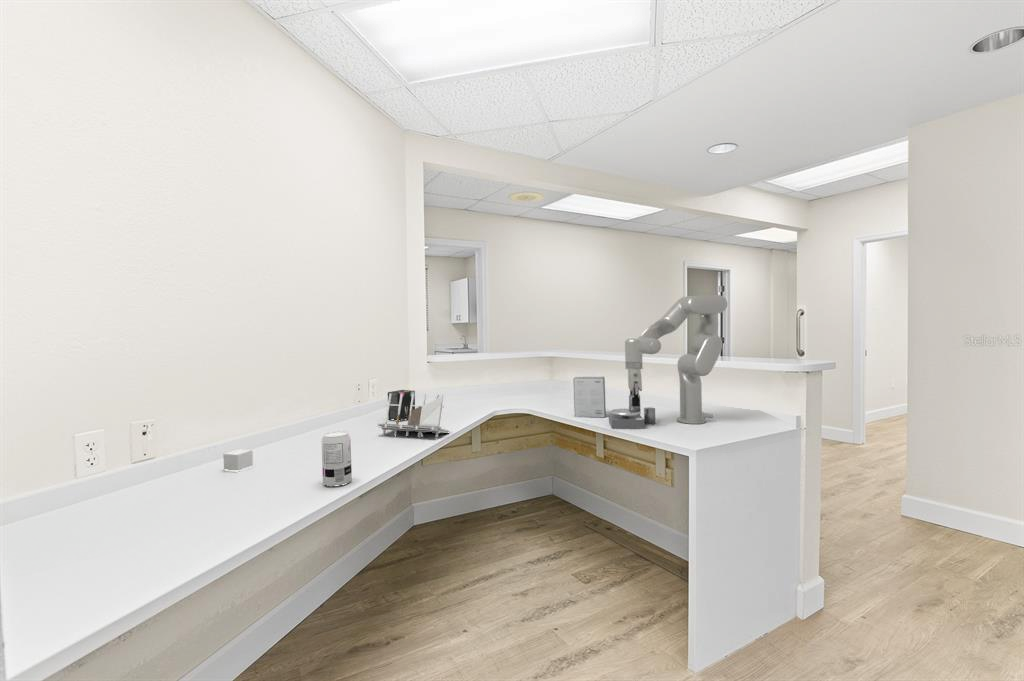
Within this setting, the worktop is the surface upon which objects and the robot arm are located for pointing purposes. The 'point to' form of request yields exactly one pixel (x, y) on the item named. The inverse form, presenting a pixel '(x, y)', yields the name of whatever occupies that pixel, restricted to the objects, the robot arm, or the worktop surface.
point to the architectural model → (418, 417)
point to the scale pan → (624, 412)
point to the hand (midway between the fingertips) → (634, 404)
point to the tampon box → (404, 405)
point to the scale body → (626, 422)
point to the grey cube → (238, 459)
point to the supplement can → (336, 458)
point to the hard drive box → (589, 396)
